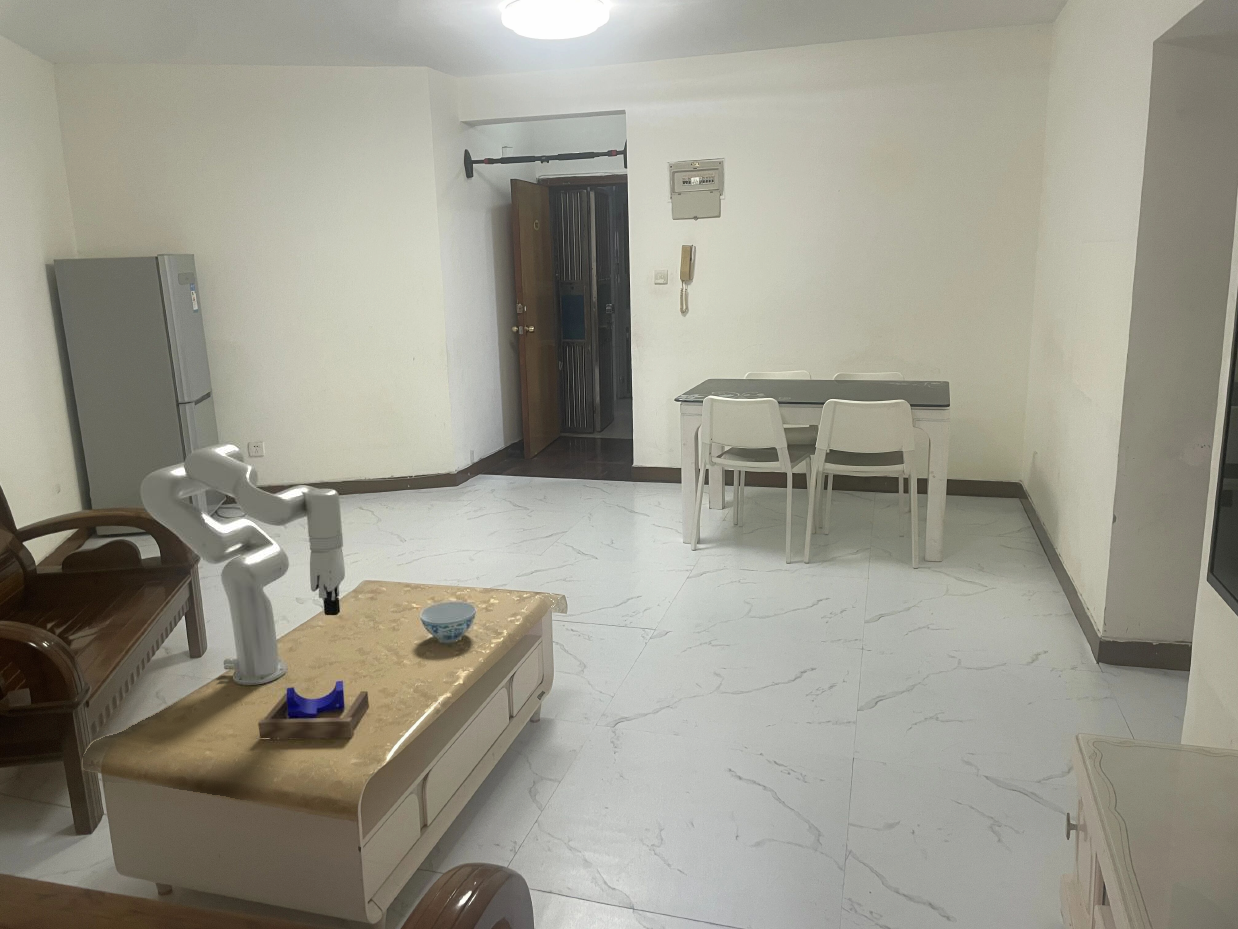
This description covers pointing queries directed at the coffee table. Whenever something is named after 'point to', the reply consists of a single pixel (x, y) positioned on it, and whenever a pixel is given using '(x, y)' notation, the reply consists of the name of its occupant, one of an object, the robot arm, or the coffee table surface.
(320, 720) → the dock bay
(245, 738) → the coffee table surface
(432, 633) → the chinaware
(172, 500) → the robot arm
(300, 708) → the cable clip
